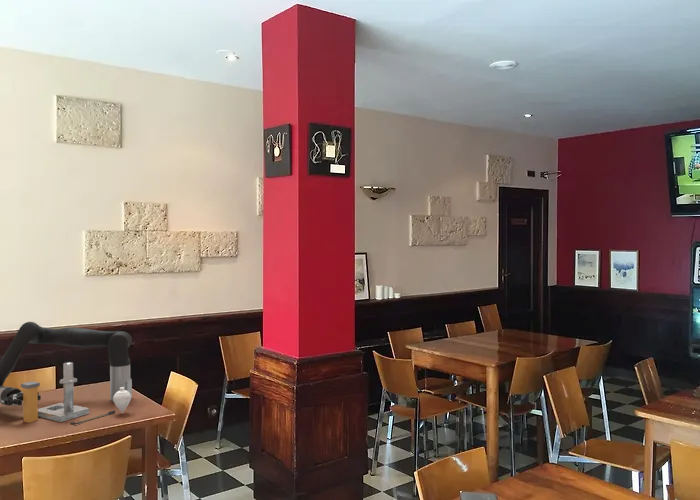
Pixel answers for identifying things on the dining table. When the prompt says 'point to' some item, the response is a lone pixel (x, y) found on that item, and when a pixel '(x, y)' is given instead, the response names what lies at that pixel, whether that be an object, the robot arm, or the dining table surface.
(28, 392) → the yellow lidded box
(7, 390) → the robot arm
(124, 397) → the spinning top
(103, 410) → the dining table surface
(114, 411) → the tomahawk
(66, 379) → the grey peg stand
